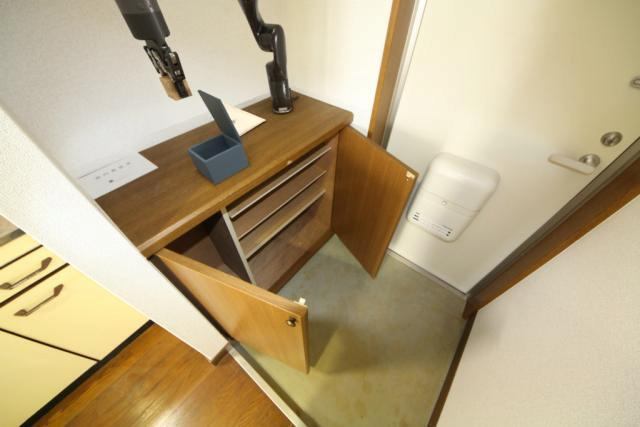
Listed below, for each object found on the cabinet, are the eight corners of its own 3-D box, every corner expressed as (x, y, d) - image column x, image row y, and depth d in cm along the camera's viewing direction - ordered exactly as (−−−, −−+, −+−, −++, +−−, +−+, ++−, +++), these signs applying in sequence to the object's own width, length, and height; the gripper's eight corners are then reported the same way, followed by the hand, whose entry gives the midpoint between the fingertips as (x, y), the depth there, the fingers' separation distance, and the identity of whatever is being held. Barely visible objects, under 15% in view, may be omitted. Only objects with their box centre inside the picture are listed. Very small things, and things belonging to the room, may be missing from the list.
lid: (218, 100, 61) (220, 99, 62) (197, 90, 67) (199, 89, 67) (240, 143, 73) (242, 141, 74) (221, 131, 79) (223, 130, 79)
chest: (215, 184, 74) (204, 162, 67) (197, 170, 79) (186, 149, 73) (249, 165, 81) (242, 143, 74) (230, 153, 86) (222, 132, 79)
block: (184, 91, 62) (176, 72, 58) (192, 95, 60) (184, 76, 56) (168, 96, 59) (158, 77, 56) (176, 101, 57) (166, 81, 54)
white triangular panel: (255, 103, 103) (214, 103, 90) (263, 102, 99) (221, 101, 86) (262, 137, 109) (224, 142, 95) (269, 136, 105) (231, 141, 91)
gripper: (173, 9, 45) (206, 97, 58) (145, 5, 52) (181, 85, 64) (133, 13, 41) (179, 106, 54) (109, 8, 48) (155, 93, 61)
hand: (180, 94), depth 59 cm, fingers closed on block, 4 cm apart
